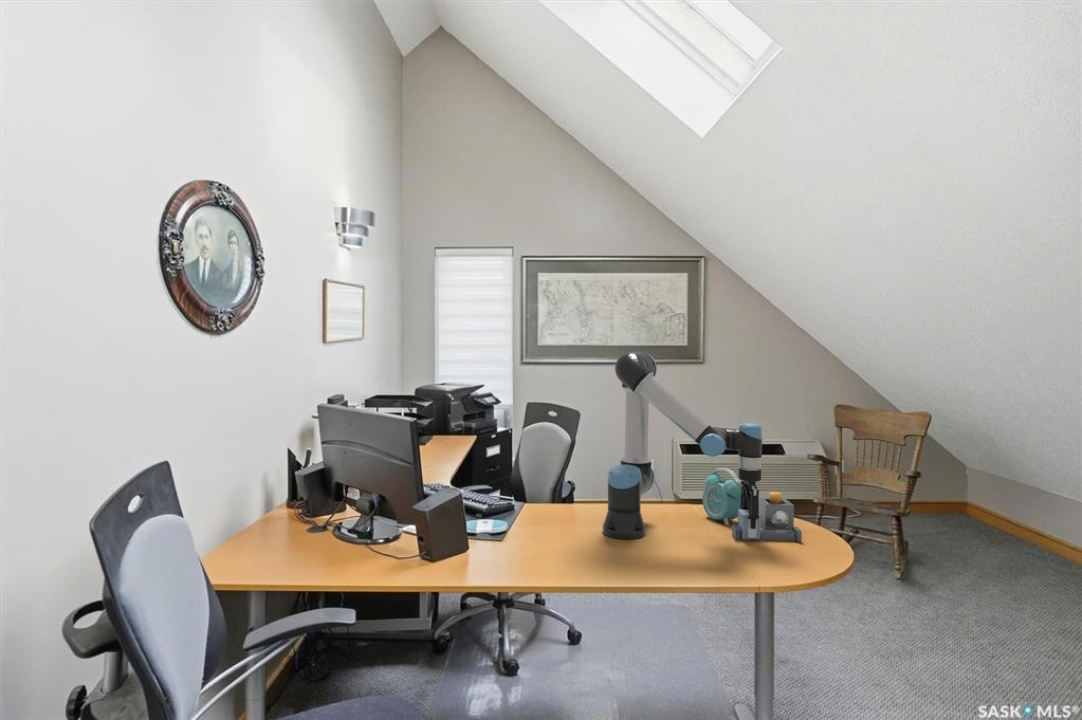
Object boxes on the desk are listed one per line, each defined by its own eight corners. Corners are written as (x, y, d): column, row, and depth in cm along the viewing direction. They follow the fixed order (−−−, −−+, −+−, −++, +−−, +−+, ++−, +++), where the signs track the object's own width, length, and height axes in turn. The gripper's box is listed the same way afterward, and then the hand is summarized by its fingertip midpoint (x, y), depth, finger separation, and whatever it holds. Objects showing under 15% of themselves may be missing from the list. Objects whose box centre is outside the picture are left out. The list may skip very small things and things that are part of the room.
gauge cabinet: (765, 532, 215) (766, 505, 214) (757, 523, 225) (757, 497, 225) (794, 533, 214) (794, 505, 214) (784, 524, 225) (784, 498, 224)
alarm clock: (697, 515, 236) (698, 465, 235) (716, 512, 240) (717, 463, 239) (728, 527, 220) (729, 474, 220) (748, 524, 224) (748, 471, 224)
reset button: (771, 504, 218) (771, 494, 218) (767, 501, 222) (767, 491, 222) (783, 504, 217) (783, 494, 217) (779, 501, 222) (779, 491, 222)
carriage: (742, 539, 205) (743, 515, 204) (737, 532, 212) (737, 509, 211) (760, 539, 204) (761, 515, 204) (754, 533, 211) (755, 509, 211)
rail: (735, 540, 206) (735, 529, 206) (732, 536, 211) (732, 524, 211) (801, 542, 204) (801, 531, 204) (796, 537, 209) (796, 526, 209)
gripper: (769, 474, 197) (768, 543, 198) (752, 462, 217) (751, 525, 218) (746, 474, 198) (745, 543, 198) (731, 462, 217) (730, 524, 218)
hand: (749, 533), depth 208 cm, fingers closed on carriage, 7 cm apart
